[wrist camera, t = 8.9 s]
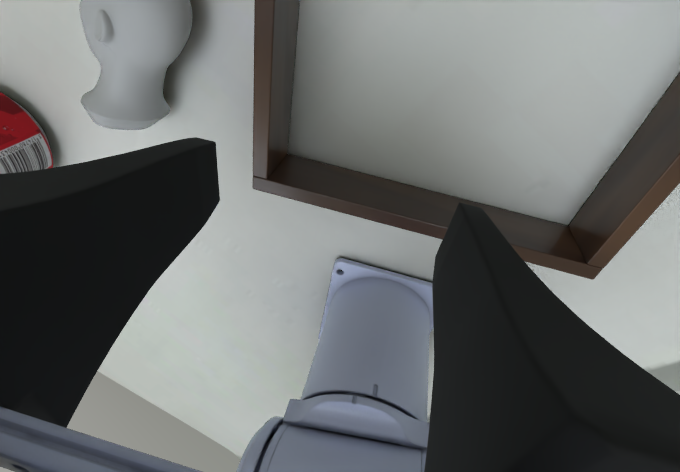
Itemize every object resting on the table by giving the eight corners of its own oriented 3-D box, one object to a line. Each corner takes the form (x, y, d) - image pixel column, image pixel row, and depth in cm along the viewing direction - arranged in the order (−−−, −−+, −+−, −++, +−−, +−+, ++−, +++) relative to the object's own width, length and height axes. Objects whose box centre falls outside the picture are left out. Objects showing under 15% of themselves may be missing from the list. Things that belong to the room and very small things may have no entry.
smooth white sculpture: (153, -70, 16) (229, 6, 16) (117, 77, 21) (176, 138, 21) (50, -108, 13) (146, -10, 13) (34, 79, 18) (104, 152, 17)
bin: (574, 240, 20) (593, 280, 17) (274, 162, 21) (252, 189, 19) (854, -125, 11) (978, -151, 8) (294, -228, 12) (256, -278, 9)
